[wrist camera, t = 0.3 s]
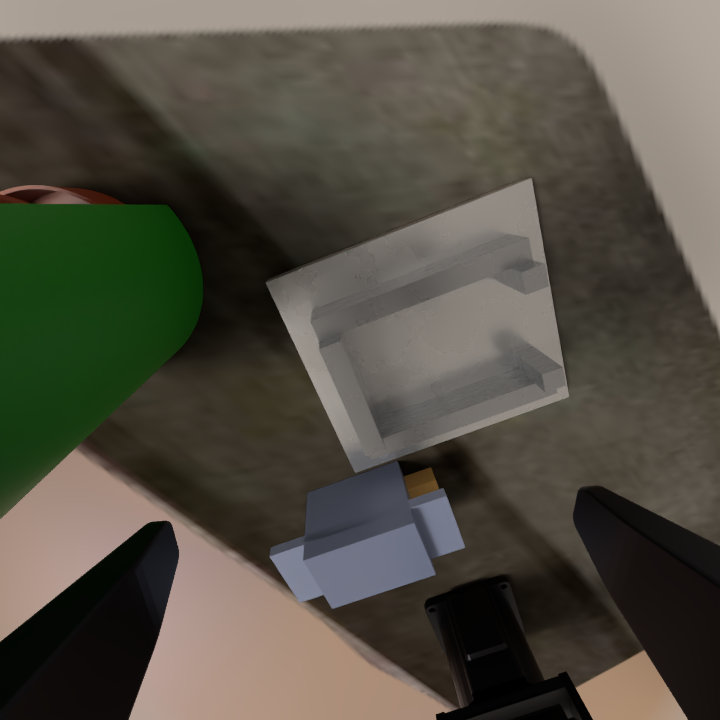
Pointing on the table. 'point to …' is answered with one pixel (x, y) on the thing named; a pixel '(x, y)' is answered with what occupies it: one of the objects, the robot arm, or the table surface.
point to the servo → (369, 536)
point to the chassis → (429, 327)
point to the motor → (82, 317)
